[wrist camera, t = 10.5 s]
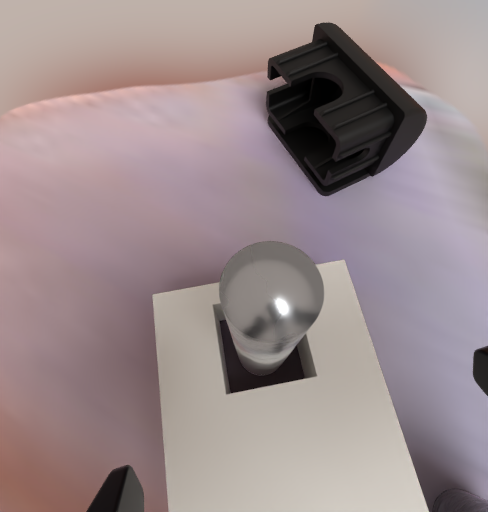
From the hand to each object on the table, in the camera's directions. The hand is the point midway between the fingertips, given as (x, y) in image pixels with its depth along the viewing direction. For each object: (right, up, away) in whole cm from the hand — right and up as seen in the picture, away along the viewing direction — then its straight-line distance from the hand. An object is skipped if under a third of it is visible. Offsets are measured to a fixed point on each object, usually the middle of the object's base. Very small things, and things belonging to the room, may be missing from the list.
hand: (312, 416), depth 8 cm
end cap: (+5, +13, +20) cm, 24 cm away
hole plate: (0, -7, +10) cm, 13 cm away
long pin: (-1, -2, +13) cm, 13 cm away
